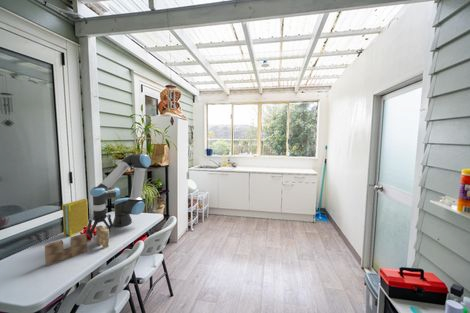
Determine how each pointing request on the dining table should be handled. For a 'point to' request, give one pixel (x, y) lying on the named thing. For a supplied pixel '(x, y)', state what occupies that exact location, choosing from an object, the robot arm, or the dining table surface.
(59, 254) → the brown wooden board
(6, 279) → the dining table surface
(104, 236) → the tan wooden slab
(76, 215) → the book
